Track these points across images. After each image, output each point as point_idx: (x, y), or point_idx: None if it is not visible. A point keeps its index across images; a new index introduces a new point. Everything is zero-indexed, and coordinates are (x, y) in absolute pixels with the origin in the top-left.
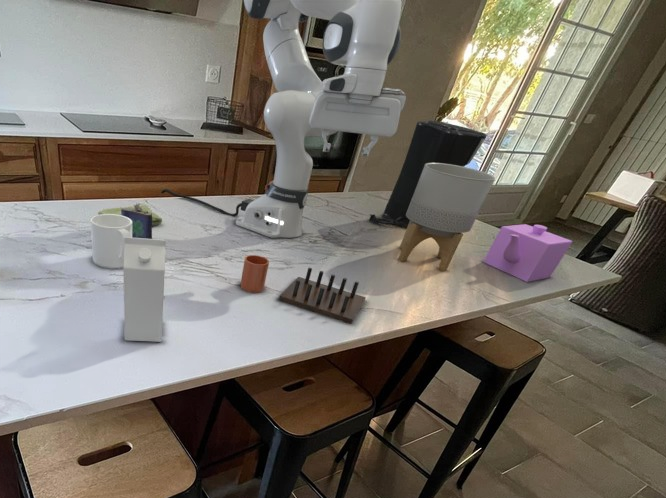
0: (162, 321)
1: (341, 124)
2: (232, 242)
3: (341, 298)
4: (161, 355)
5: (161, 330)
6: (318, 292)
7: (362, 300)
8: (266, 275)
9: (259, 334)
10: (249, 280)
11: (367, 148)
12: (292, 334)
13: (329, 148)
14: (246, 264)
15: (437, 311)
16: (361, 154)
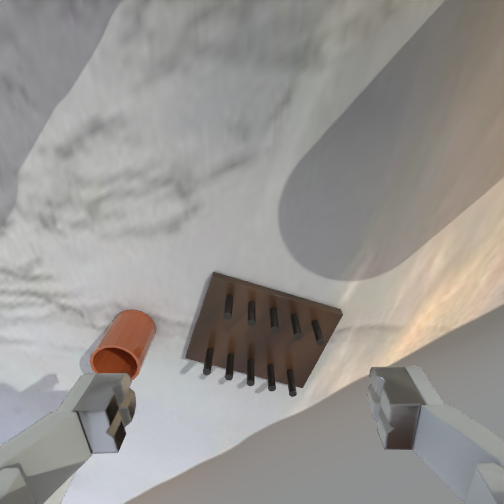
0: (62, 499)
1: None
2: (9, 96)
3: (293, 334)
4: (87, 485)
5: (68, 487)
6: (252, 327)
7: (332, 328)
8: (148, 348)
9: (175, 434)
10: (124, 357)
11: (408, 448)
12: (216, 424)
13: (124, 426)
14: (102, 372)
15: (481, 298)
16: (372, 369)
